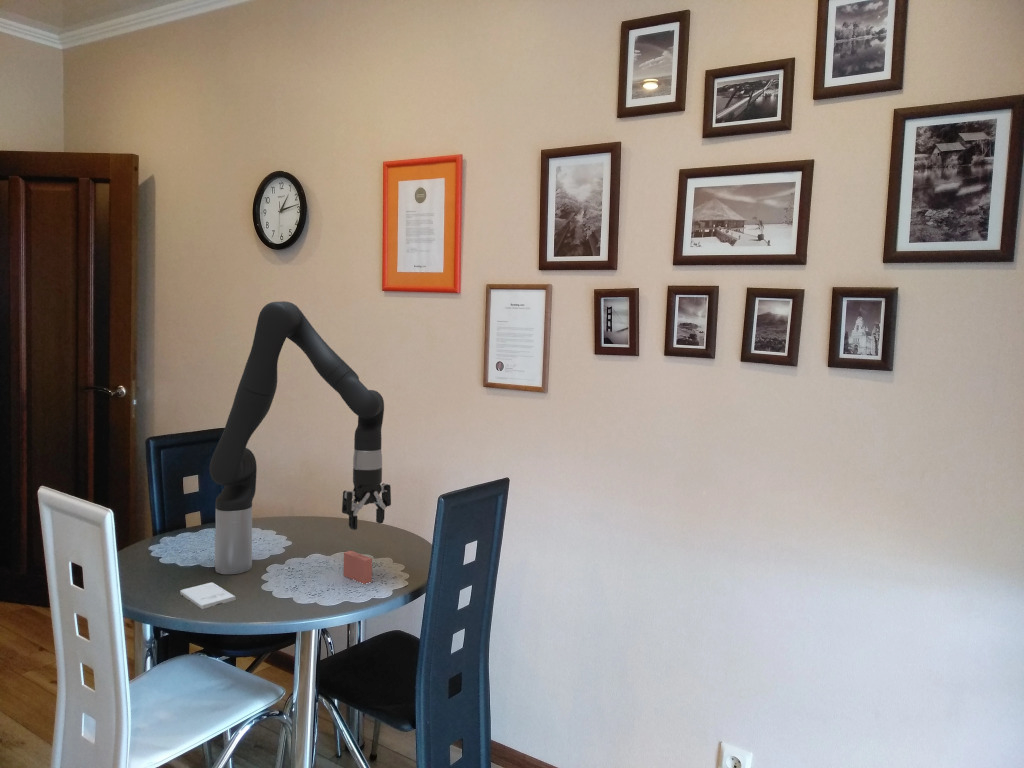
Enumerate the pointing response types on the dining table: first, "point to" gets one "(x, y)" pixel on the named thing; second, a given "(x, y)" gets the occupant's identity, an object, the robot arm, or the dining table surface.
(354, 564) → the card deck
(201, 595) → the external hard drive
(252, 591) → the dining table surface
